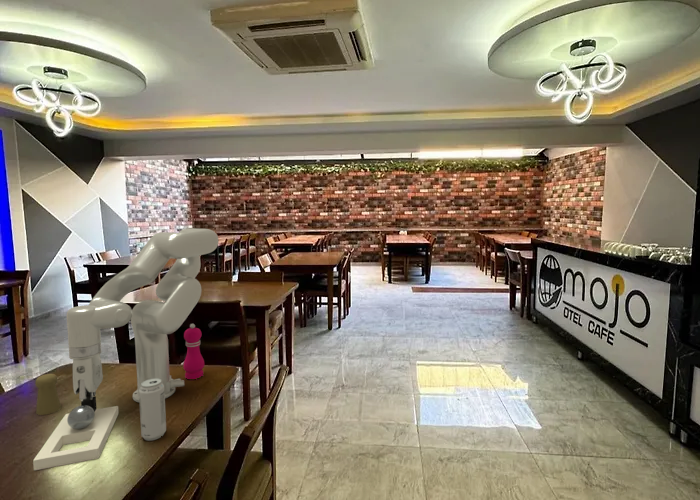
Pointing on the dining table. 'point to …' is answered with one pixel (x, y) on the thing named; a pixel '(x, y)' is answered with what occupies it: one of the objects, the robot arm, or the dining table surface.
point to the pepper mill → (193, 353)
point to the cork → (47, 395)
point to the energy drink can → (152, 409)
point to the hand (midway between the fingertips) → (89, 411)
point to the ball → (81, 417)
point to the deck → (77, 440)
